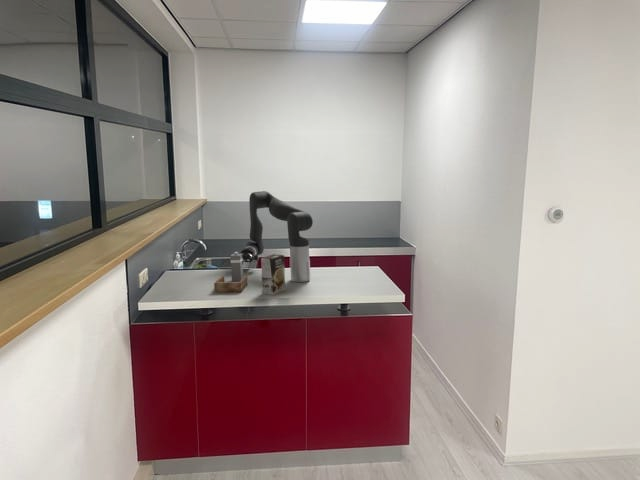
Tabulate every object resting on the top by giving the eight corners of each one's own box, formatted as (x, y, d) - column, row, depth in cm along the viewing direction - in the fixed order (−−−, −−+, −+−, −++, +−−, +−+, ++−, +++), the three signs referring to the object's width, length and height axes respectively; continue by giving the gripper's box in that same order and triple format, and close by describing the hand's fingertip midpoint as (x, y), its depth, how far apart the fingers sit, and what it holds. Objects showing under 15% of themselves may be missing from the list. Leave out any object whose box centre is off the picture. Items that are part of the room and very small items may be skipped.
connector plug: (243, 279, 221) (242, 251, 219) (241, 281, 217) (239, 253, 214) (234, 279, 222) (232, 251, 219) (231, 281, 217) (230, 253, 214)
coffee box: (273, 295, 194) (272, 258, 191) (262, 293, 197) (260, 257, 194) (286, 289, 201) (284, 254, 199) (274, 288, 205) (273, 253, 202)
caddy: (247, 284, 211) (247, 275, 211) (241, 292, 199) (240, 282, 198) (222, 284, 212) (222, 275, 211) (214, 292, 199) (214, 283, 198)
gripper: (235, 247, 244) (227, 253, 228) (261, 247, 243) (255, 253, 228) (236, 260, 246) (228, 267, 230) (261, 260, 245) (256, 267, 229)
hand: (241, 260), depth 229 cm, fingers open, 8 cm apart
